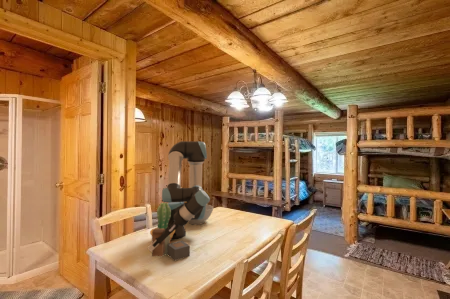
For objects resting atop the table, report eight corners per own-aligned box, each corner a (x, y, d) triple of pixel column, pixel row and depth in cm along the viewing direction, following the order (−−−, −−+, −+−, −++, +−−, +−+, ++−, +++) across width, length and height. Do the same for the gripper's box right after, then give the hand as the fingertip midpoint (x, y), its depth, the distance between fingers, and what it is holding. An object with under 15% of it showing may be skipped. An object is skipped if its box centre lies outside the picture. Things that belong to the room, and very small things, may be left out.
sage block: (156, 253, 132) (157, 235, 132) (164, 250, 136) (164, 233, 136) (162, 256, 129) (162, 237, 129) (169, 253, 133) (169, 235, 133)
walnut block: (155, 251, 121) (155, 228, 120) (164, 251, 121) (165, 228, 120) (151, 256, 116) (152, 232, 115) (162, 256, 116) (162, 232, 115)
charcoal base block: (167, 254, 131) (167, 244, 131) (181, 250, 136) (181, 240, 136) (174, 261, 124) (175, 249, 124) (189, 256, 129) (189, 245, 129)
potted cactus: (179, 240, 152) (180, 201, 152) (167, 249, 137) (168, 207, 137) (158, 237, 156) (158, 200, 156) (144, 246, 141) (145, 205, 141)
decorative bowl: (176, 219, 196) (176, 205, 196) (206, 216, 207) (206, 202, 207) (184, 229, 172) (184, 213, 172) (218, 225, 183) (218, 209, 183)
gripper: (185, 227, 109) (150, 261, 109) (192, 215, 127) (161, 245, 127) (174, 215, 109) (139, 249, 109) (182, 205, 127) (151, 235, 127)
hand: (151, 247), depth 118 cm, fingers closed on walnut block, 5 cm apart
